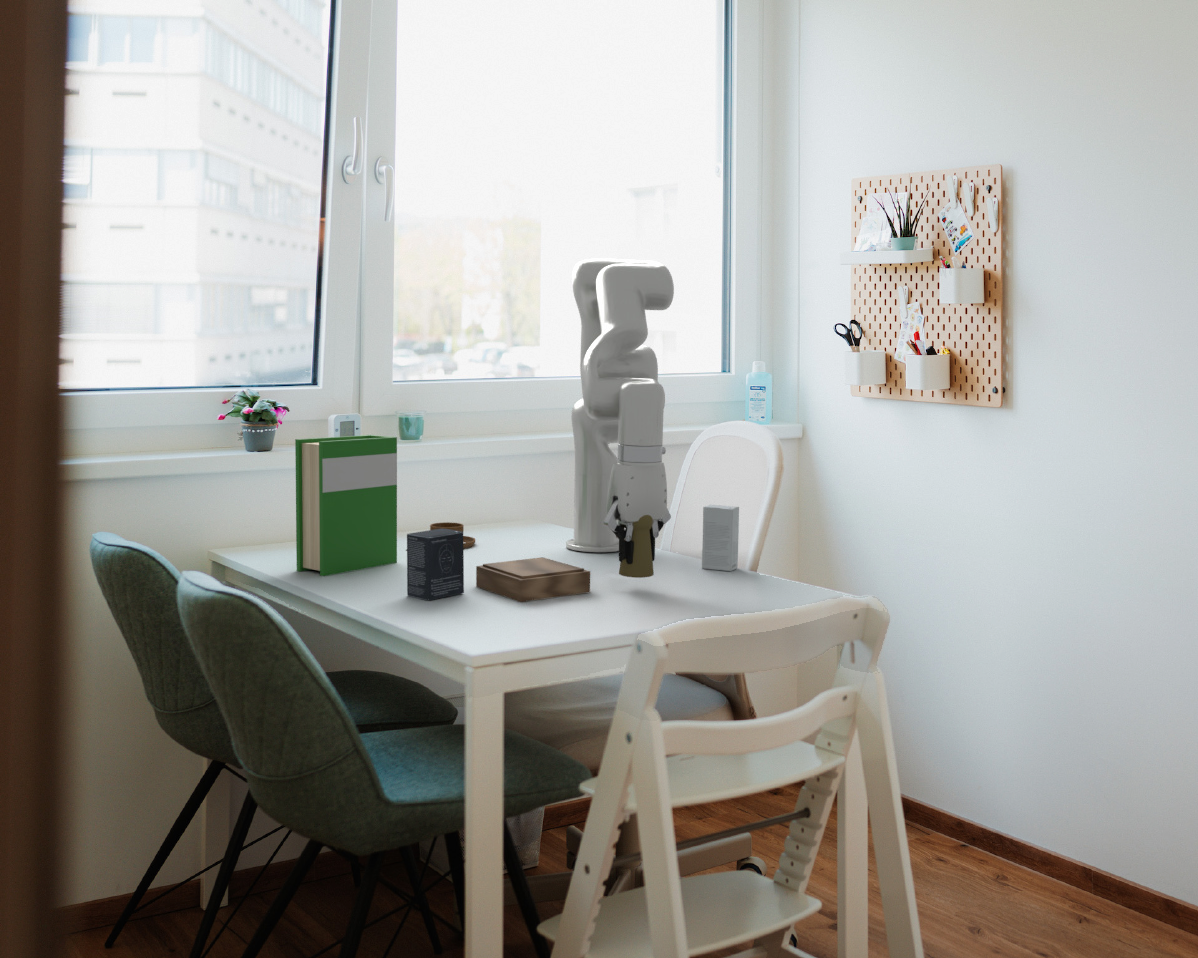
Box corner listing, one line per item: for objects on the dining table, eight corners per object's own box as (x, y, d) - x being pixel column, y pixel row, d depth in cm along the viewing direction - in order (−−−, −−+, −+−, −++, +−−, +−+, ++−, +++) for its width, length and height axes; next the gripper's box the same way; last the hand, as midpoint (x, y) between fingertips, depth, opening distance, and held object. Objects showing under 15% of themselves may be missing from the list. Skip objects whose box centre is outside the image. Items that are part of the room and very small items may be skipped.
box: (441, 589, 184) (442, 527, 183) (464, 594, 181) (465, 531, 179) (405, 596, 178) (405, 532, 177) (428, 601, 175) (428, 536, 173)
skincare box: (738, 568, 208) (740, 506, 207) (731, 571, 204) (733, 509, 203) (708, 565, 211) (710, 504, 209) (700, 568, 207) (702, 506, 205)
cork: (651, 578, 182) (653, 514, 180) (615, 576, 183) (617, 512, 181) (656, 571, 188) (658, 508, 186) (622, 568, 189) (623, 506, 187)
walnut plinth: (543, 578, 195) (543, 556, 194) (589, 592, 184) (590, 569, 183) (476, 586, 186) (476, 563, 186) (520, 602, 175) (520, 577, 175)
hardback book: (323, 576, 193) (322, 441, 190) (296, 570, 197) (295, 439, 194) (396, 562, 207) (396, 437, 204) (370, 557, 211) (370, 435, 209)
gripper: (663, 450, 190) (659, 552, 193) (586, 455, 180) (584, 562, 183) (691, 454, 185) (687, 560, 187) (614, 459, 175) (611, 571, 177)
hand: (636, 560), depth 185 cm, fingers closed on cork, 4 cm apart
